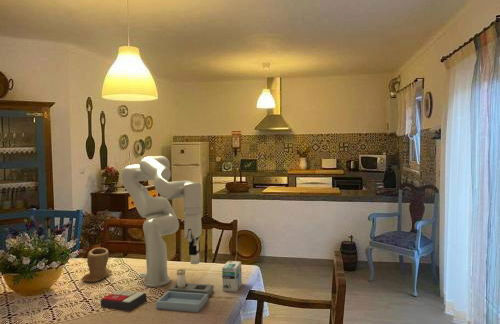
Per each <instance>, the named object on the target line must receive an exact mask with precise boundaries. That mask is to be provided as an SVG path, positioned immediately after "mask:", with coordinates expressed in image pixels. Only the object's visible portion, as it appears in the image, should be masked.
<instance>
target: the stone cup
mask: <svg viewBox="0 0 500 324" xmlns="http://www.w3.org/2000/svg"><path fill="white" fill-rule="evenodd" d="M109 254H110V252H109V250H108V249H107V248H104V247H95V248H92V249H91V250H89V251H88V253H87V260H86V261H87V266H88V269H89V273H87V274H85V275H84V276H82V278H81V280H83V281H84V282H97V281H100V280H103V279H104V278H105V277H107V276H109V275H110V274H111V273H113V271H112V270H111V269H110V268H109V267H107V265H108V261H109V258H110V257H109V256H110V255H109Z"/></svg>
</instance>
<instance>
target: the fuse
mask: <svg viewBox="0 0 500 324" xmlns="http://www.w3.org/2000/svg"><path fill="white" fill-rule="evenodd" d="M176 282H177V288H185V287H186V285H185V283H186V270H185V269H183V268H179V269H176Z"/></svg>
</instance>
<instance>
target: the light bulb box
mask: <svg viewBox="0 0 500 324" xmlns="http://www.w3.org/2000/svg"><path fill="white" fill-rule="evenodd" d="M221 272H222V292H234V293H236V292H238V291H239V289H240V287H241V286H242V284H243V281H242V279H243V278H242V261H234V260H228V261H227V262H226V263H225V264H224V265H223V266H222V267H221Z"/></svg>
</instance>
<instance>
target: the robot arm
mask: <svg viewBox="0 0 500 324" xmlns="http://www.w3.org/2000/svg"><path fill="white" fill-rule="evenodd" d="M170 168H171V163H170V160H169V159H168V158H167V157H166V156H164V155H154V156H151V155H150V156H144V157H143V158H142V159H141V160H140V161H139V164H135V163H134V164H130V165H127V166H125V167H124V168H123V169H122V171H121V175H120V177H121V183H122V185H123V187H124V189H125V190H126V191H127V193H128V194H129V195H130V197H131V200H132V201H133V203H134V206H135V208H136V210H137V212H138V214H139V216H140V217H141V218H144V219H145V220H144V222H143V225H142V230H143V235H144V242H145V256H146V257H145V259H146V260H145V261H146V272H140V273H139V278H140V279H144V281H143V284H144V286H146V287H148V288H149V287H150V288H156V287H157V288H158V287H164V286H167V285H169V284H170V283H171V281H172V278H171V277H170V276H168V253H167V251H168V250H167V249H168V248H167V243H166V241H165V240H164V239H163V236H168V235H171V234H175V233H176V232H178V230H179V228H180V222H179V219H178V216H177V214H176V212H175V210H174V209H173V206H172V204H171V203H170V201H169V200H177V199H183V208H184V210H183V213H184V227H183V228H184V230H183V231H184V233H183V234H184V235H183V237H184V239H185V240H187V243H188V255H189V256H191V255H197V247H196V246H195V245H196V239H199V253H200V251H201V246H200V245H201V244H200V243H201V241H200V240H201V239H200V238H201V237H200V236H201V235H202V234H203V233H202V232H203V231H202V230H203V227H202V215H203V201H202V200H203V199H202V197H203V196H202V193H203V192H202V184H201V182H199V181H191V180H188V179H187V180H174V181H169V180H170V178H171V175H172V174H171V169H170ZM152 180H153V183H154V189H155V191H156V192H157V193H158V196H152V195H151V194H150V192H149V190H148V188H146V186H145V185H143V184H141V183H140V182H143V181H144V182H145V181H146V182H147V181H152ZM159 195H160V196H159ZM192 240H194V242H193V241H192Z"/></svg>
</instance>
